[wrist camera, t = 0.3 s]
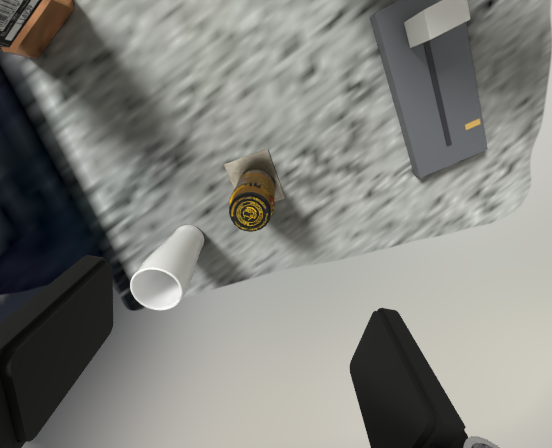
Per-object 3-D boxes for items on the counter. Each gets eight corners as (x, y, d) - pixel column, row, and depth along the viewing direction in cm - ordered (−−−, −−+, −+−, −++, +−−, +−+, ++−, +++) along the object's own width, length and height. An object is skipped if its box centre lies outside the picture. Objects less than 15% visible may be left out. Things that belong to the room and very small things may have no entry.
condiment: (244, 211, 47) (234, 244, 36) (224, 164, 44) (206, 184, 33) (285, 198, 46) (288, 227, 35) (267, 148, 43) (264, 164, 32)
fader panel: (369, 17, 36) (375, 12, 34) (447, -25, 34) (457, -32, 33) (414, 174, 44) (420, 178, 43) (478, 147, 43) (488, 149, 41)
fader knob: (403, 22, 34) (423, 10, 30) (439, 3, 34) (465, -13, 29) (410, 48, 35) (430, 39, 31) (444, 30, 35) (470, 19, 30)
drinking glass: (193, 213, 47) (159, 258, 33) (216, 243, 49) (194, 298, 36) (162, 231, 48) (117, 282, 35) (186, 260, 51) (153, 318, 37)
